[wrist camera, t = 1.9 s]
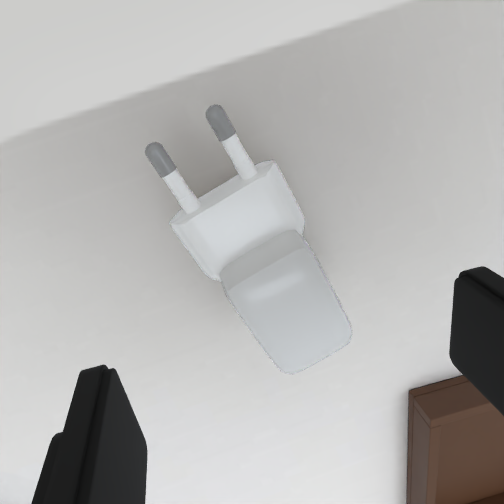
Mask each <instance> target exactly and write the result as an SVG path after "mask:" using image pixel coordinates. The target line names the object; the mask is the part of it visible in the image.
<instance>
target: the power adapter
mask: <svg viewBox="0 0 504 504" xmlns="http://www.w3.org/2000/svg"><path fill="white" fill-rule="evenodd" d="M206 119H207V120H208V122H209V124H210V125H211V127H212V129H213V131H214V132H215V134H216V136H217V138H218V139H219V141H220V142H221V143H222V145H223V146H224V148H225V150H226V152H227V153H228V155H229V157H230V158H231V160H232V162H233V164H234V167H235V169H236V171H237V172H238V175H236V176H235V177H233V178H231V179H230V180H228V181H226V182H225V183H223V184H221V185H220V186H218V187H216V188H215V189H213V190H211V191H210V192H208V193H206V194H205V195H203V196H201V197H200V198H198V199H197V197H196V196H195V194H194V193H193V191H192V190H190V188H189V187H188V185H187V184H186V182H185V181H184V179H183V178H182V176H181V175H180V173H179V172H178V170H177V169H176V168H177V167H176V165H175V164H174V162H173V161H172V159H171V158H170V156H169V155H168V153H167V152H166V150H165V149H164V147H163V146H162V144H160V143H159V142H152V143H150V144H148V145H147V147H146V149H145V155H146V156H147V158H148V159H149V161H150V162H151V164H152V165H153V167H154V168H155V169H156V171H157V172H158V174H159V175H160V177H161V178H163V180H164V181H165V183H166V184H167V185H168V187H169V188H170V190H171V191H172V193H173V194H174V196H175V197H176V199H177V202H178V203H179V205H180V206H181V208H182V209H181V210H179V211H178V212H177V214H176V215H175V216H174V217H173V218H172V220H171V221H170V222H169V225H170V226H171V227H172V229H173V231H174V232H175V234H176V235H177V236H178V238H179V239H180V241H181V242H182V243H183V245H184V246H185V247H186V249H187V250H188V252H189V253H190V254H191V256H192V257H193V259H194V260H195V261H196V263H197V264H198V265H199V267H200V268H201V270H202V271H203V272H204V273H205V274H206V276H207V277H209V278H211V279H213V280H217V281H221V282H222V285H223V288H224V291H225V294H226V296H227V298H228V300H229V301H230V303H231V304H232V306H233V307H234V309H235V310H236V312H237V313H238V315H239V316H240V317H241V319H242V320H243V322H244V323H245V325H246V326H247V327H248V329H249V330H250V332H251V333H252V334H253V336H254V337H255V339H256V340H257V341H258V343H259V344H260V346H261V347H262V348H263V350H264V351H265V352H266V354H267V355H268V356H269V358H270V359H271V360H272V361H273V363H274V364H275V365H276V366H277V368H278V369H279V370H280V371H282V372H284V373H287V374H292V375H293V374H295V373H298V372H300V371H302V370H304V369H306V368H308V367H310V366H312V365H314V364H315V363H317V362H319V361H321V360H323V359H324V358H326V357H328V356H330V355H332V354H333V353H335V352H336V351H338V350H340V349H341V348H343V347H344V346H346V345H347V344H348V343H350V340H351V337H352V328H351V324H350V321H349V319H348V317H347V315H346V313H345V311H344V309H343V307H342V305H341V303H340V301H339V299H338V297H337V295H336V293H335V291H334V290H333V288H332V286H331V284H330V282H329V280H328V278H327V276H326V274H325V273H324V271H323V269H322V267H321V265H320V264H319V262H318V260H317V258H316V257H315V255H314V253H313V251H312V250H311V248H310V246H309V245H308V243H307V242H306V240H305V239H304V238H303V236H302V233H303V230H304V226H305V218H304V215H303V213H302V211H301V209H300V207H299V205H298V203H297V201H296V199H295V197H294V195H293V193H292V191H291V189H290V188H289V186H288V184H287V182H286V180H285V178H284V176H283V174H282V172H281V170H280V168H279V167H278V165H277V163H276V162H275V161H274V160H270V161H264V162H260V163H258V164H256V165H254V163H253V162H252V160H251V158H250V156H248V154H247V153H246V151H245V149H244V147H243V145H242V144H241V142H240V140H239V138H238V136H237V134H236V131H235V129H234V127H233V125H232V124H231V122H230V120H229V118H228V116H227V114H226V113H225V111H224V109H223V107H222V106H220V105H212V106H210V107H209V108H208V109H207V111H206Z"/></svg>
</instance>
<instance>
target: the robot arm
mask: <svg viewBox="0 0 504 504" xmlns="http://www.w3.org/2000/svg"><path fill="white" fill-rule="evenodd" d="M449 353H450V358H451V361H452V363H453V364H454V366H455V367H456V368H457V369H458V370H459V371H460V372H461V373H462V374H463V375H464V376H465V377H466V378H467V379H468V380H469V381H470V382H471V383H472V384H473V385H474V386H475V387H476V388H477V389H478V390H479V391H480V392H481V393H482V394H483V395H484V396H485V397H486V399H487V400H488V401H489V402H490V403H491V404H492V405H493V406H494V407H495V408H496V409H497V410H498V411H499V412H500V413H501V414H502V415H503V416H504V278H503V277H501V276H500V275H498V274H496V273H495V272H493V271H491V270H490V269H488V268H486V267H477V268H473V269H469V270H466V271H463V272H461V273H460V274H459V278H457V279H456V280H455V283H454V296H453V310H452V324H451V337H450V351H449ZM146 474H147V445H146V441H145V438H144V436H143V433H142V431H141V428H140V426H139V424H138V421H137V419H136V416H135V414H134V412H133V409H132V407H131V405H130V402H129V400H128V397H127V395H126V393H125V390H124V388H123V385H122V383H121V381H120V378H119V376H118V374H117V371H116V370H115V369H114V368H112V369H108V367H107V366H106V365H100V366H97V367H93V368H89V369H85V370H82V371H81V372H80V374H79V377H78V380H77V384H76V387H75V391H74V394H73V398H72V401H71V405H70V408H69V412H68V416H67V419H66V423H65V426H64V430H63V432H61V433H57V434H55V436H54V437H53V438H52V440H51V443H50V445H49V449H48V452H47V455H46V458H45V462H44V465H43V468H42V471H41V474H40V478H39V481H38V484H37V487H36V491H35V494H34V497H33V500H32V504H145V495H146Z"/></svg>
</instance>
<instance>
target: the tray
mask: <svg viewBox="0 0 504 504" xmlns="http://www.w3.org/2000/svg"><path fill="white" fill-rule="evenodd" d="M407 504H504V416H503V415H502V414H501V413H500V412H499V411H498V410H497V409H496V408H495V407H494V406H493V405H492V404H491V403H490V402H489V401H488V400H487V399H486V397H485V396H484V395H483V394H482V393H481V392H480V391H479V390H478V389H477V388H476V387H475V386H474V385H473V384H472V383H471V382H470V381H469V380H468V379H467V378H466V377H465V376H464V375H463V376H459V377H456V378H452V379H449V380H445V381H442V382H438V383H435V384H431V385H427V386H424V387H420V388H417V389H413V390H410V391H409V423H408V469H407Z"/></svg>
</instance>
